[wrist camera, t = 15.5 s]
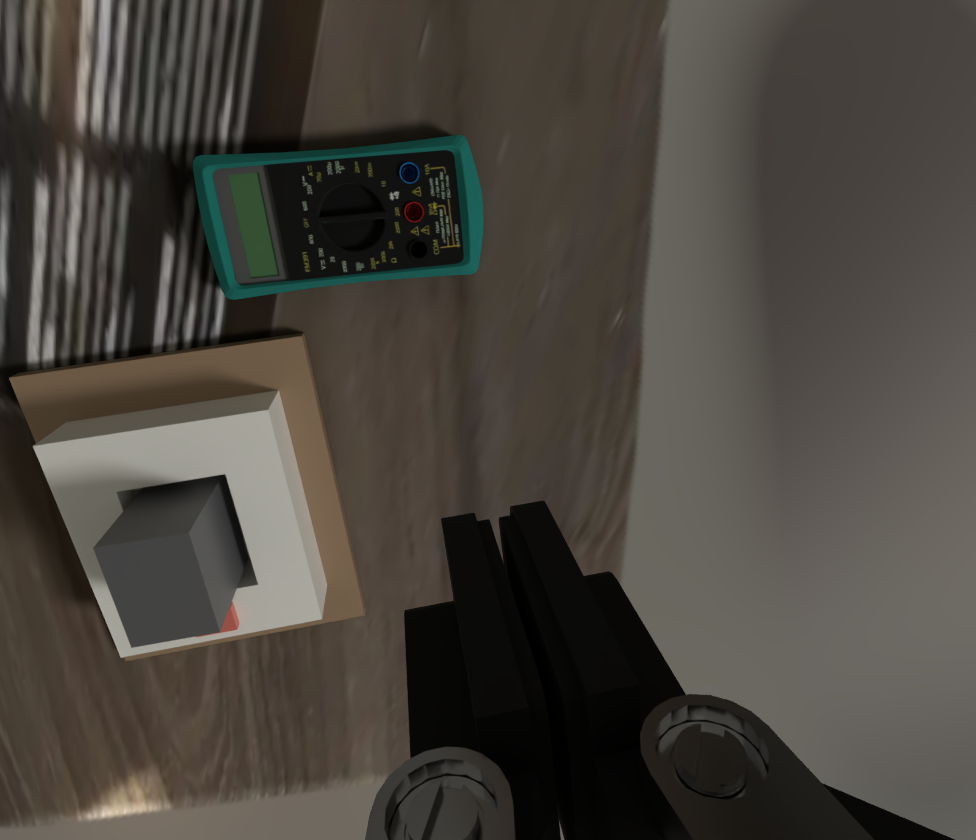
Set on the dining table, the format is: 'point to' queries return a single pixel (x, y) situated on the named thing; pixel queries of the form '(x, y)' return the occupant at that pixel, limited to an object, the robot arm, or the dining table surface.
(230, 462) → the socket
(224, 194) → the digital multimeter
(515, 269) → the dining table surface
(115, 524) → the plug
